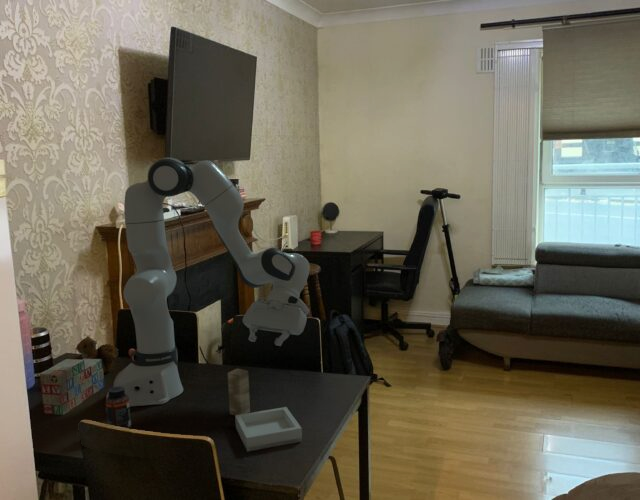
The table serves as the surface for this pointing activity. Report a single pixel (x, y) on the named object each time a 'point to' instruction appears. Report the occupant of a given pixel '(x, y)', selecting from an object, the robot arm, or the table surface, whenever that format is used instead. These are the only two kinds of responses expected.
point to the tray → (268, 428)
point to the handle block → (239, 392)
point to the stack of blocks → (70, 384)
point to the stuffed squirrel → (97, 353)
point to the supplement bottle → (118, 408)
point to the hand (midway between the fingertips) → (264, 342)
